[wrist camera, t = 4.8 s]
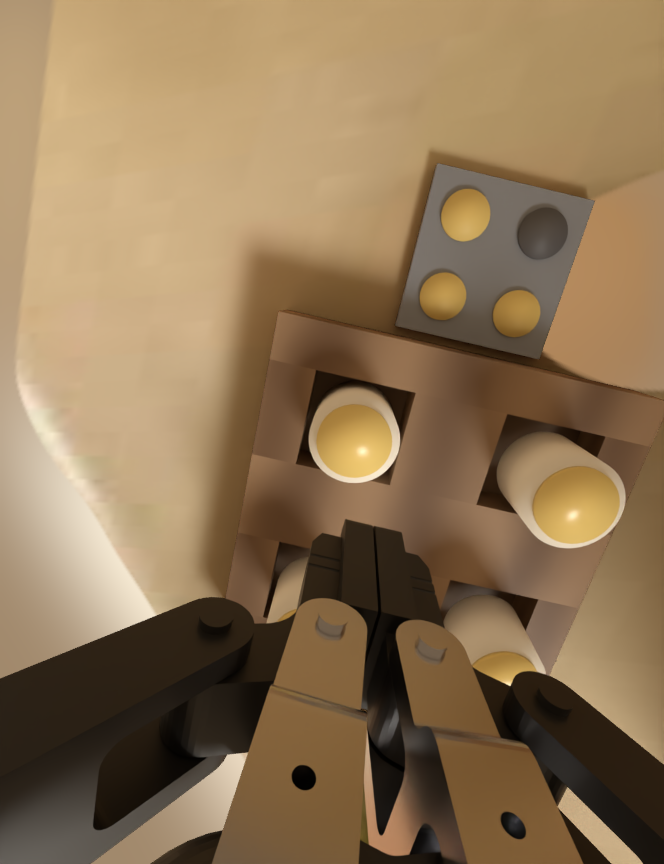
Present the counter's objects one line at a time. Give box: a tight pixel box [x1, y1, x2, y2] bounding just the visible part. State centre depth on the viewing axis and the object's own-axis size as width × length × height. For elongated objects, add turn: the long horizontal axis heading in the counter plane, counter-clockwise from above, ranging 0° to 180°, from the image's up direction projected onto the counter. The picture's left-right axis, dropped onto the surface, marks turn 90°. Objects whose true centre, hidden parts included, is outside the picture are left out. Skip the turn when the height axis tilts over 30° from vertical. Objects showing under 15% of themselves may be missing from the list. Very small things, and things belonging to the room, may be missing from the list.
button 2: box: [497, 432, 626, 548], centre depth 22 cm, size 4×4×4 cm
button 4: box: [443, 594, 546, 686], centre depth 25 cm, size 4×4×4 cm
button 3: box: [267, 557, 308, 623], centre depth 25 cm, size 4×4×4 cm
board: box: [225, 310, 664, 676], centre depth 27 cm, size 20×20×3 cm
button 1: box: [309, 381, 400, 483], centre depth 24 cm, size 4×4×4 cm
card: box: [395, 163, 595, 359], centre depth 24 cm, size 8×8×1 cm
